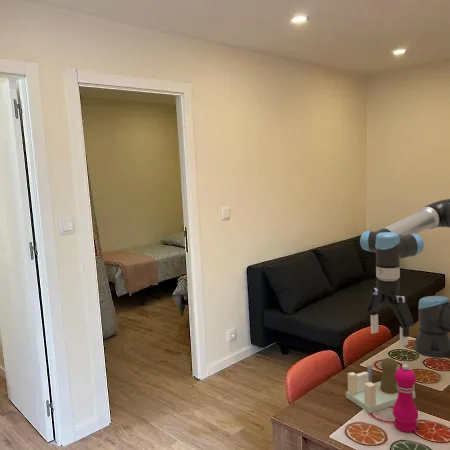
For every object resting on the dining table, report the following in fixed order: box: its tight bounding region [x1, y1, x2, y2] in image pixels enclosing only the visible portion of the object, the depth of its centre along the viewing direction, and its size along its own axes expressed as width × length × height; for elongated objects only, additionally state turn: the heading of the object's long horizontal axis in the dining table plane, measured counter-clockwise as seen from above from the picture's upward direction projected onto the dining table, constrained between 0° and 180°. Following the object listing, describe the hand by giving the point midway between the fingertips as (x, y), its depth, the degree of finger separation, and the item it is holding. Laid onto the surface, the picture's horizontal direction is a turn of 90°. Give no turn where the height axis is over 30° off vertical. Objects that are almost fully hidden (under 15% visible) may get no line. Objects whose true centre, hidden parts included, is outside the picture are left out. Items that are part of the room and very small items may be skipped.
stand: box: [345, 365, 416, 414], centre depth 155 cm, size 20×12×10 cm, turn 114°
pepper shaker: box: [380, 357, 398, 394], centre depth 156 cm, size 6×6×11 cm
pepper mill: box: [392, 364, 419, 433], centre depth 137 cm, size 7×7×20 cm
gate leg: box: [347, 371, 369, 395], centre depth 156 cm, size 8×2×7 cm, turn 114°
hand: (388, 338), depth 154 cm, fingers open, 13 cm apart
